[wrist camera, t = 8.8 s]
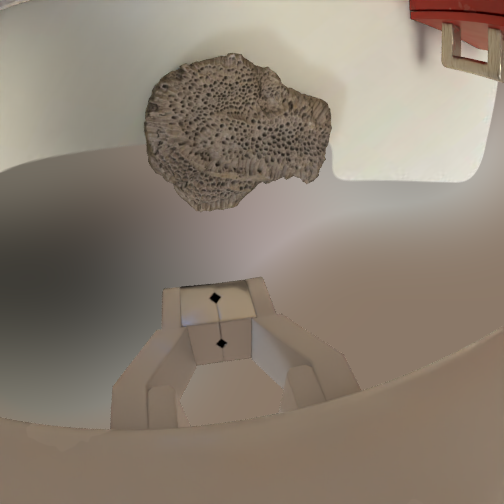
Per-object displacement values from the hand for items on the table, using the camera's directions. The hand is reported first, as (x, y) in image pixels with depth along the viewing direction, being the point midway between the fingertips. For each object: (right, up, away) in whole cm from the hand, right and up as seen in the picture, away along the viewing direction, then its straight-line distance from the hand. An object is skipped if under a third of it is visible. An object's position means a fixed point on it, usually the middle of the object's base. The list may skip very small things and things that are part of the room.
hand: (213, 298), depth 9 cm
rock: (0, +10, +13) cm, 16 cm away
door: (+26, +26, +14) cm, 39 cm away
